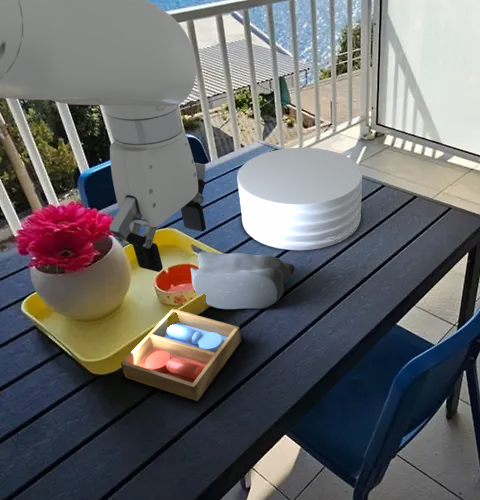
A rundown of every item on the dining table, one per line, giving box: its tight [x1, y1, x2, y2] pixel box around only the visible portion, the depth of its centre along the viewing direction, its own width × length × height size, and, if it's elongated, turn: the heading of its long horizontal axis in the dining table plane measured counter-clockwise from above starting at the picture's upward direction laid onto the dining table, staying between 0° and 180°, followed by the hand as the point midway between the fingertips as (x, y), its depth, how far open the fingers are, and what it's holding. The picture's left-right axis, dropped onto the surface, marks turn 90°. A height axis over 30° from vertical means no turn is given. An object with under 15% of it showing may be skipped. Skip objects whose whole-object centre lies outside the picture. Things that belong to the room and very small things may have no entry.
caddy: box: [120, 308, 242, 402], centre depth 81 cm, size 13×13×3 cm
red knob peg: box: [146, 351, 204, 380], centre depth 78 cm, size 10×4×2 cm, turn 71°
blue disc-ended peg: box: [167, 324, 223, 353], centre depth 84 cm, size 10×4×2 cm, turn 71°
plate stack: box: [236, 147, 363, 251], centre depth 116 cm, size 28×28×12 cm
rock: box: [190, 250, 296, 310], centre depth 94 cm, size 18×11×8 cm, turn 89°
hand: (174, 247), depth 66 cm, fingers open, 9 cm apart
